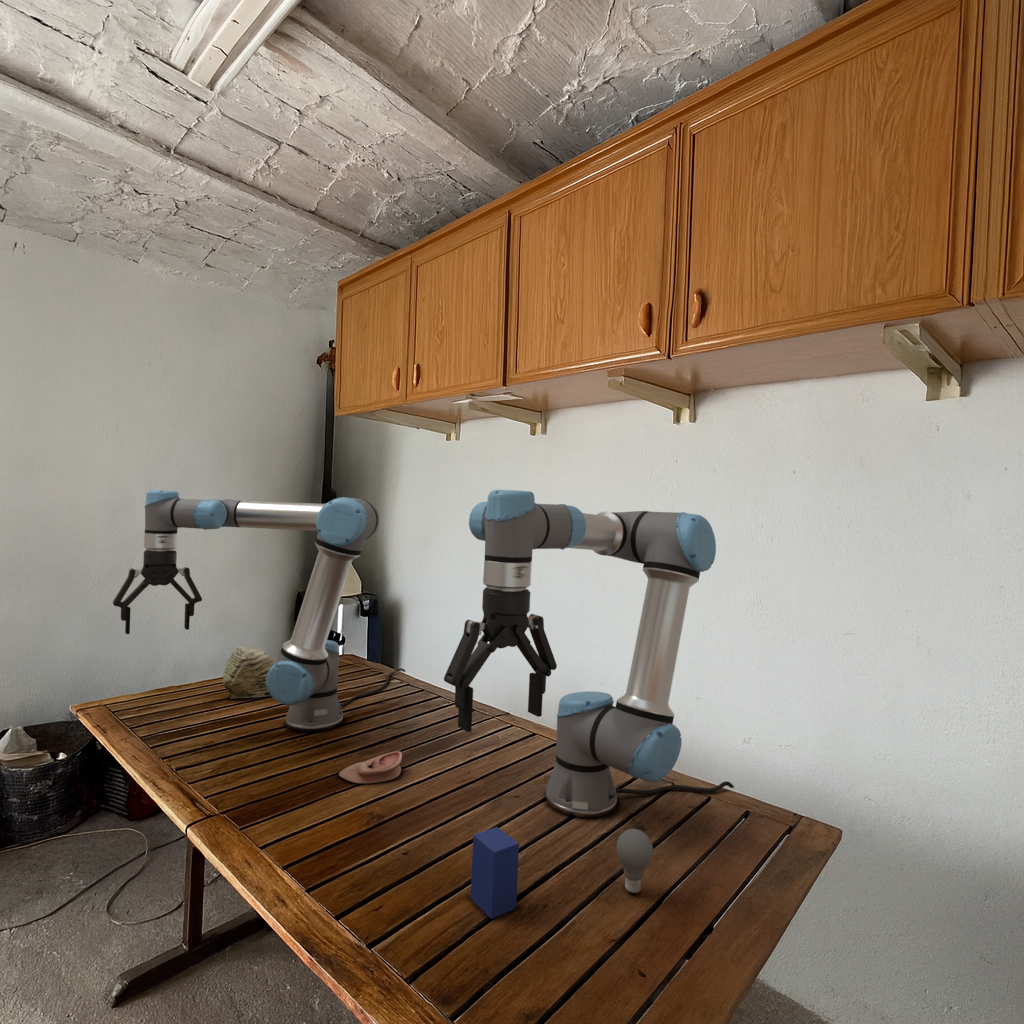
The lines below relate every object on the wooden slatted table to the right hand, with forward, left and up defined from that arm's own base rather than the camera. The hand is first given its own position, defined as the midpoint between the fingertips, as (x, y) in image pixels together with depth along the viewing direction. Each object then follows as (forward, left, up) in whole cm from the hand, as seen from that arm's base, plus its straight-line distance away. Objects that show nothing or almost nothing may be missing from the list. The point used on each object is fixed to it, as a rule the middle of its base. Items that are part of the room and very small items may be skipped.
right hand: (501, 721), depth 100 cm
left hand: (+70, -86, -3) cm, 111 cm away
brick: (0, 0, -29) cm, 29 cm away
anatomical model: (+17, -51, -29) cm, 61 cm away
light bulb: (-24, +1, -29) cm, 38 cm away
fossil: (+49, -114, -29) cm, 128 cm away
